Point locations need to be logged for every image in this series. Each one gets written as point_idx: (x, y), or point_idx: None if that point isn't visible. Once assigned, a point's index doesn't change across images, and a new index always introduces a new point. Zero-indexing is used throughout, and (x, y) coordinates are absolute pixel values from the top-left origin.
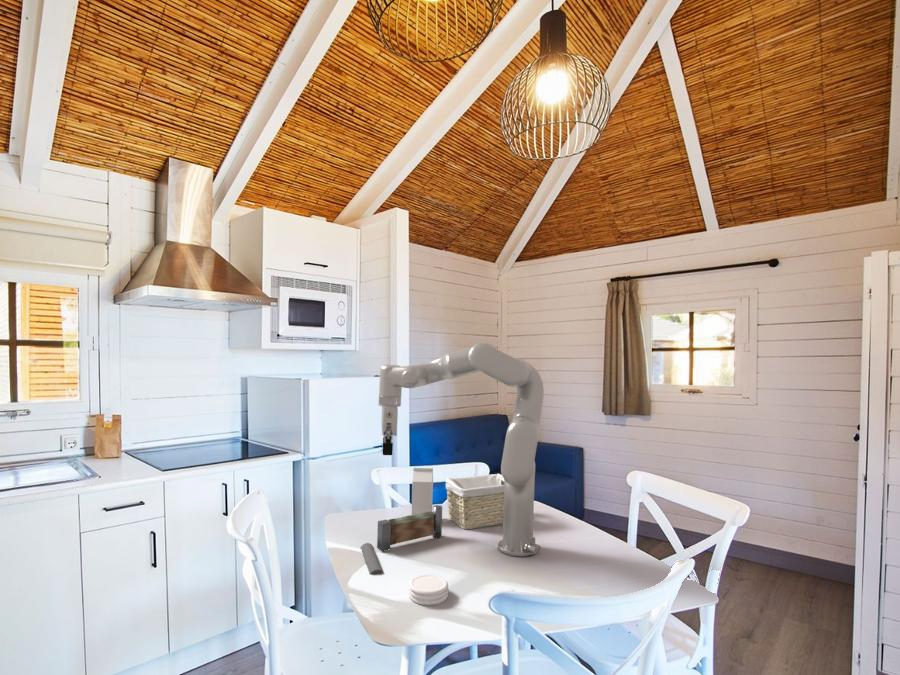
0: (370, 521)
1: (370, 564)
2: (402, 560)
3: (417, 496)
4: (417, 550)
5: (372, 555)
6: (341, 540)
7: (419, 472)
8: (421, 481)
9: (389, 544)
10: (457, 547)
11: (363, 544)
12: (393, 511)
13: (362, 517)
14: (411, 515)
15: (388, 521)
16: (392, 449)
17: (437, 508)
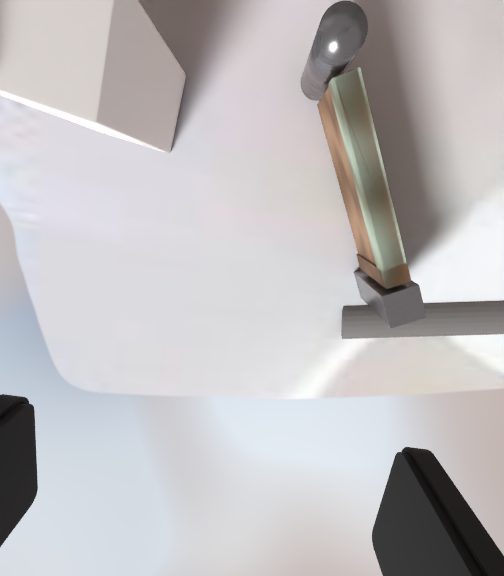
0: (134, 289)
1: (481, 331)
2: (466, 240)
3: (138, 107)
4: (412, 181)
5: (434, 322)
6: (276, 379)
7: (10, 36)
8: (102, 53)
9: None
10: (435, 26)
11: (343, 334)
12: (35, 197)
13: (94, 309)
14: (364, 188)
15: (406, 292)
16: (473, 514)
17: (364, 39)
